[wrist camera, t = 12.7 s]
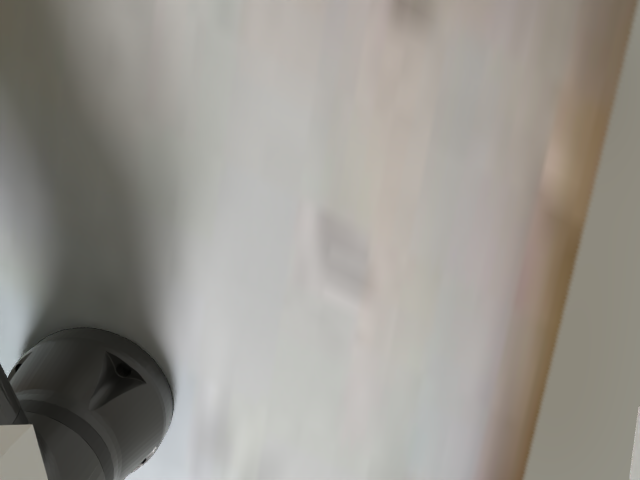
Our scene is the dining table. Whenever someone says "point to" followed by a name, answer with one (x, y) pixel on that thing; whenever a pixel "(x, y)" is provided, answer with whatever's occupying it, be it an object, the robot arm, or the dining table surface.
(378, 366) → the dining table surface
